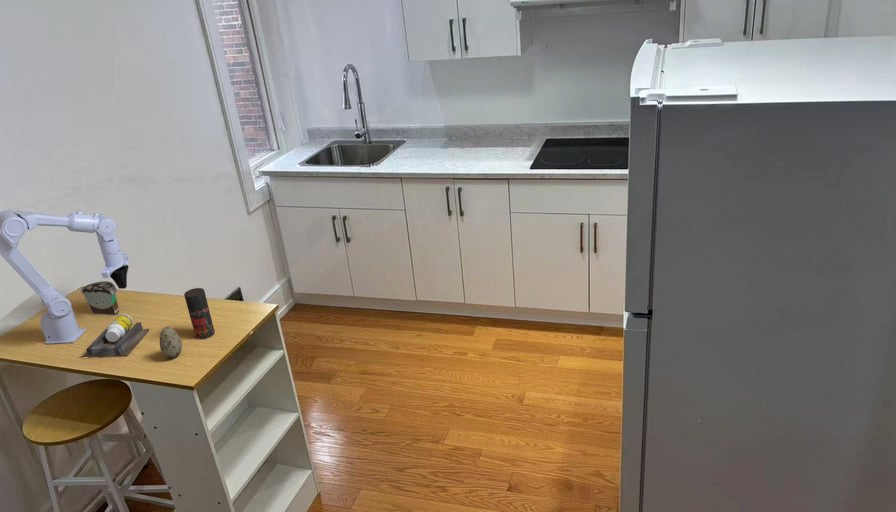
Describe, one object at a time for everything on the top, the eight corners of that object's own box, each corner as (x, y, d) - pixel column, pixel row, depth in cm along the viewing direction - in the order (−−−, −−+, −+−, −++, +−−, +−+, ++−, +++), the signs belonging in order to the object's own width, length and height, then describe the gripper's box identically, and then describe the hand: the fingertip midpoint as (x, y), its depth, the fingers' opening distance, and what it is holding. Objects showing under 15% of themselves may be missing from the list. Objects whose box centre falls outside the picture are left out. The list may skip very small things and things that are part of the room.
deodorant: (191, 335, 208) (180, 293, 202) (209, 327, 212) (198, 286, 206) (201, 341, 205) (189, 298, 198) (218, 333, 209) (207, 291, 202)
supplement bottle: (136, 325, 214) (123, 342, 206) (121, 329, 215) (107, 346, 206) (128, 311, 212) (115, 327, 203) (113, 315, 213) (99, 331, 204)
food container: (131, 306, 230) (123, 281, 225) (119, 315, 224) (110, 289, 220) (100, 305, 232) (92, 279, 228) (88, 313, 227) (79, 288, 223)
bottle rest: (82, 358, 201) (79, 349, 199) (107, 332, 214) (104, 323, 213) (127, 356, 200) (124, 347, 198) (149, 330, 213) (146, 322, 212)
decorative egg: (176, 348, 202) (168, 320, 198) (188, 353, 199) (180, 325, 194) (159, 358, 197) (150, 329, 193) (171, 363, 194) (163, 334, 190)
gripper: (112, 259, 208) (124, 297, 214) (133, 241, 222) (144, 277, 227) (90, 260, 209) (103, 298, 214) (113, 242, 222) (124, 278, 228)
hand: (123, 287), depth 221 cm, fingers closed
